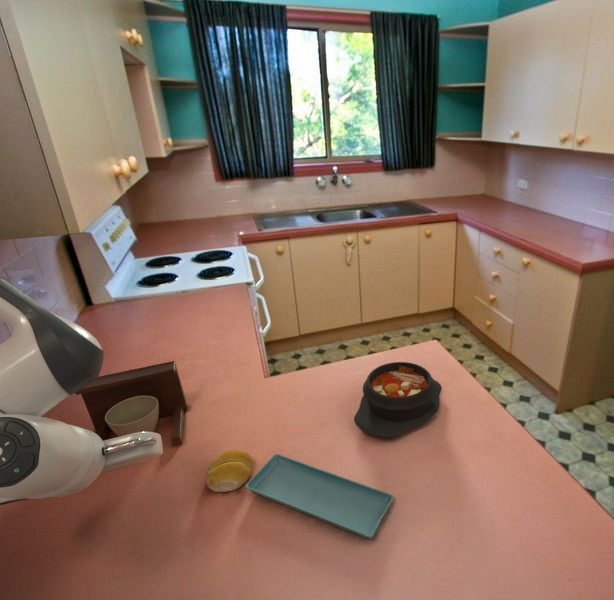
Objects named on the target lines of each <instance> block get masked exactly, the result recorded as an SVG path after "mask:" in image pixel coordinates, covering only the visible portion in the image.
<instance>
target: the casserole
mask: <svg viewBox="0 0 614 600" xmlns="http://www.w3.org/2000/svg"><path fill="white" fill-rule="evenodd" d="M441 392H442V385H441V383H440V382H439V381H437V380H436V379H434V378H433V377H432V375H431V373H430V372H429V371H428V370H427V368H425V367H423V366H421V365H419V364H416V363H413V362H406V361H393V362H387V363H385V364H381V365H380V366H377V367H375V368H374V369H372V370H371V371H370V372H369V374H368V375H367V378H366V379H365V381H364V382H363V385H362V394H363V396H362V397H361V400H360V403H359V407H358V409H357V411H356V413H355V415H354V417H353V421H354V424H355V425H356V426H357V427H358V429H360V430H361V431H363V432H364V433H366V434H369V435H372V436H374V437H379V438H390V439H391V438H395V437H398V436H401V435H402V434H404V433H406V432H407V431H409V430H411V429H413V428H416V427H418V426H421V425H423V424H425V423H427V422H429V421H430V420H432V418H434V416H436V415H437V413H438V411H439V408H440V404H441V403H440V395H441Z"/></svg>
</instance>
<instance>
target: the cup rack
mask: <svg viewBox="0 0 614 600" xmlns="http://www.w3.org/2000/svg"><path fill="white" fill-rule="evenodd" d="M74 394H75V396H79V395H81V397H82V400H83V403H84V405H85V408H86V410H87V412H88V415H89V417H90V420H91V422H92V425H93V427H94V430H95V433H96V434H97V435H98V436H99V437H100V438H101V439H102V441H104V440H107V437H108V433H109V431H112V429H111V428H110V427H109V426H108V424H107V423H106V421H105V415H106V413H107V412H108V411H109V410H110V409H111V408H112V407H113V406H114V405H116V404H118V403H119V402H121V401H124V400H126V399H129V398H132V397H137V396H152V397H155V398H156V399H157V400H158V404H159V415H158V419H160V418H163V417H168V416H171V415H173V420H172V421H173V422H172V431H171V441H172V445H173V447H175V446H179V445H182V444H183V436H184V435H183V434H184V433H183V432H184V420H185V419H184V417H185V412H187V411H189V406H188V402H187V398H186V394H185V391H184V387H183V384H182V381H181V376H180V373H179V370H178V366H177V362H176V360H172V361H167V362H162V363H157V364H152V365H148V366H143V367H138V368H134V369H128V370H124V371H123V370H122V371H119V372H115V373H114V372H113V373H110V374H105V375H99V376H98V379H96V380H95V381H93V382H91V383H90V384H88V385H87V386H85V387H84V388H82V389H80V390H79V391H77V392H76V393H74Z"/></svg>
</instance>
